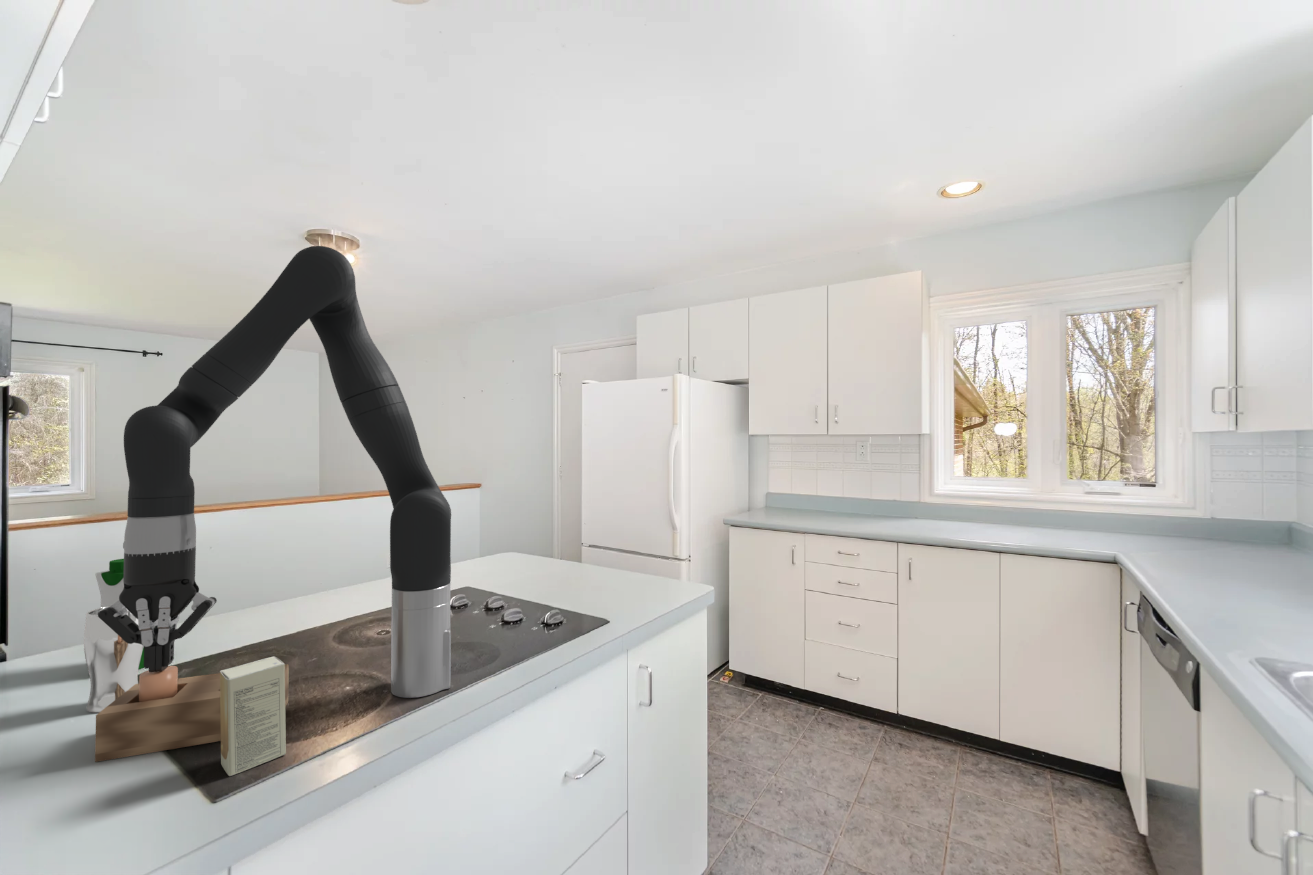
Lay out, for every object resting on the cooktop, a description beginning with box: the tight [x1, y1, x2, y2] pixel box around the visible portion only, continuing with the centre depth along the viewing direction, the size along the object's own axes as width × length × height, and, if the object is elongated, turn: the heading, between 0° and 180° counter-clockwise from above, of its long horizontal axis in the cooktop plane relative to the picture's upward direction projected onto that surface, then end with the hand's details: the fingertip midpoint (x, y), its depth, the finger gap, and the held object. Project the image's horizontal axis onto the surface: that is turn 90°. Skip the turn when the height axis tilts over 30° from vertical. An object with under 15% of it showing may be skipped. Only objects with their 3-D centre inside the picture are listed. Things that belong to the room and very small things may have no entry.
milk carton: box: [95, 558, 145, 671], centre depth 102 cm, size 9×9×20 cm
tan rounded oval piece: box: [138, 665, 179, 702], centre depth 76 cm, size 4×4×5 cm
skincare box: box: [219, 656, 287, 777], centre depth 70 cm, size 6×4×12 cm
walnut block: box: [94, 664, 290, 763], centre depth 78 cm, size 19×10×6 cm, turn 112°
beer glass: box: [83, 606, 143, 714], centre depth 86 cm, size 7×7×15 cm
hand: (158, 669), depth 76 cm, fingers closed
